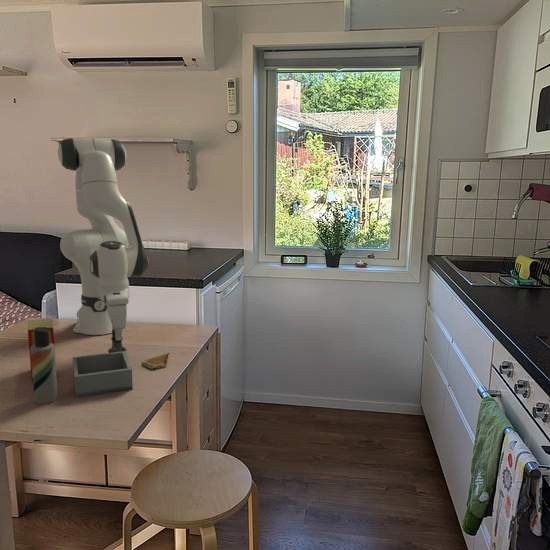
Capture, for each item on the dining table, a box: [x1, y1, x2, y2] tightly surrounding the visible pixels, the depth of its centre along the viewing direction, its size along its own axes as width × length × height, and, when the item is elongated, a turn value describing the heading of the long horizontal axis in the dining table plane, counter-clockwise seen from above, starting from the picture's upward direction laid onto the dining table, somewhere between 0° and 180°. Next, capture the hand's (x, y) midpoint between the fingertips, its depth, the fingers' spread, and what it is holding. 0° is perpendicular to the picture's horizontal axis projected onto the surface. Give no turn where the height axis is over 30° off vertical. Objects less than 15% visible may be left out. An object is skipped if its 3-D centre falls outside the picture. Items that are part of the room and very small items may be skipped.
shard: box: [141, 352, 170, 370], centre depth 157 cm, size 11×8×2 cm
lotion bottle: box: [29, 327, 59, 405], centre depth 128 cm, size 6×6×20 cm
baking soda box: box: [27, 318, 57, 383], centre depth 144 cm, size 10×6×16 cm
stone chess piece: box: [107, 329, 128, 353], centre depth 157 cm, size 6×6×12 cm
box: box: [72, 351, 134, 398], centre depth 141 cm, size 15×15×6 cm
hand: (117, 335), depth 156 cm, fingers open, 8 cm apart
